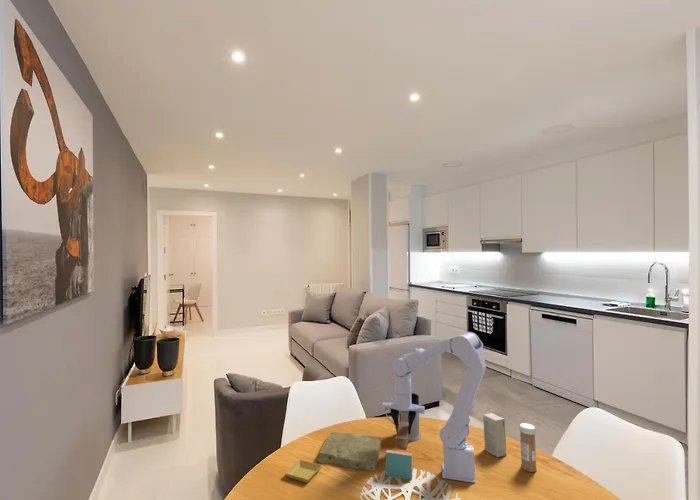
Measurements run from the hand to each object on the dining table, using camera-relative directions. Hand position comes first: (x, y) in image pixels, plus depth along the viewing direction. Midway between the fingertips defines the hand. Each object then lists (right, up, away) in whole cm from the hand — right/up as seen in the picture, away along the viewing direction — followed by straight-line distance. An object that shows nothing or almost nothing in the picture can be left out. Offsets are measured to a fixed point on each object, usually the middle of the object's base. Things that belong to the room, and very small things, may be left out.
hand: (403, 432), depth 120 cm
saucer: (-33, -7, -13) cm, 36 cm away
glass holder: (+1, -8, +13) cm, 16 cm away
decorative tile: (-19, -8, 0) cm, 20 cm away
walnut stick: (-1, -1, -2) cm, 3 cm away
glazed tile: (-4, -7, -13) cm, 15 cm away
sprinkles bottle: (+39, -7, -9) cm, 41 cm away
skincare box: (+32, -8, +1) cm, 33 cm away
